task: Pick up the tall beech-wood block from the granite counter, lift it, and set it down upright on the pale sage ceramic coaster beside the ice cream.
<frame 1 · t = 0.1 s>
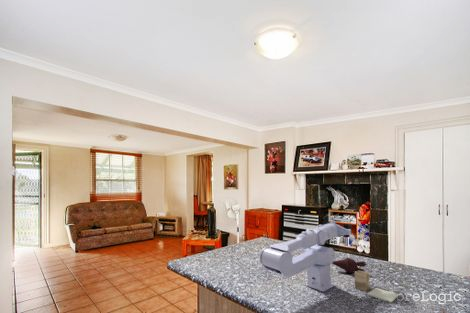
hand: (342, 226, 119), 22 cm above the counter, tool horizontal, fingers open, 7 cm apart
icecream: (348, 272, 120), on the counter
coaster: (383, 295, 96), on the counter
block: (362, 288, 103), on the counter
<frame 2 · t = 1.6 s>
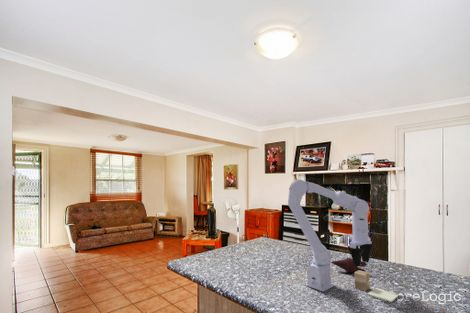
hand: (361, 263, 103), 9 cm above the counter, tool pointing down, fingers open, 7 cm apart
nothing on the counter moved.
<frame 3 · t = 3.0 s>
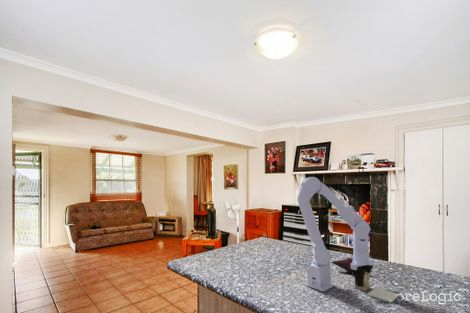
hand: (362, 284, 103), 1 cm above the counter, tool pointing down, fingers closed on block, 4 cm apart
block: (362, 288, 103), on the counter, touching gripper
everything else where it was.
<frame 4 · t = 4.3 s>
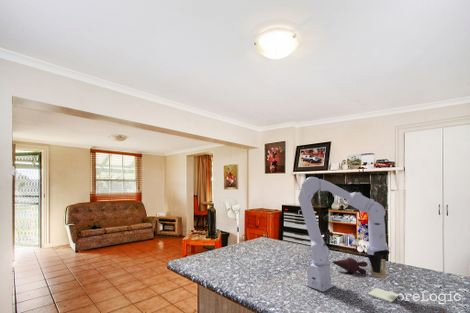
hand: (378, 270, 98), 9 cm above the counter, tool pointing down, fingers closed on block, 4 cm apart
block: (378, 276, 98), point 7 cm above the counter, touching gripper
everything else where it was.
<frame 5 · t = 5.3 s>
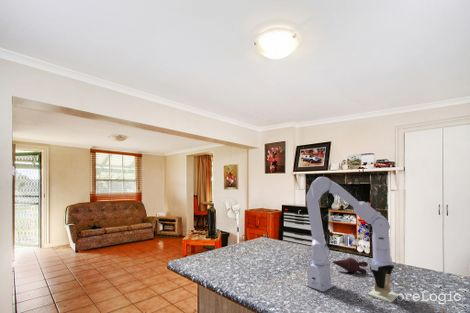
hand: (382, 285, 96), 4 cm above the counter, tool pointing down, fingers closed on block, 4 cm apart
block: (382, 291, 96), point 2 cm above the counter, touching gripper
everything else where it was.
when the fingers open (3 cm above the counter, at t = 5.8 s): block stays where it is, resting on coaster.
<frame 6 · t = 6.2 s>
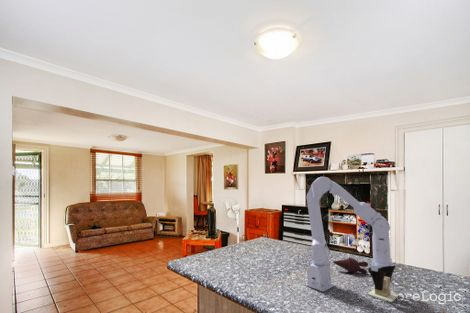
hand: (382, 286, 96), 3 cm above the counter, tool pointing down, fingers open, 7 cm apart
block: (382, 294, 96), point 1 cm above the counter, touching coaster
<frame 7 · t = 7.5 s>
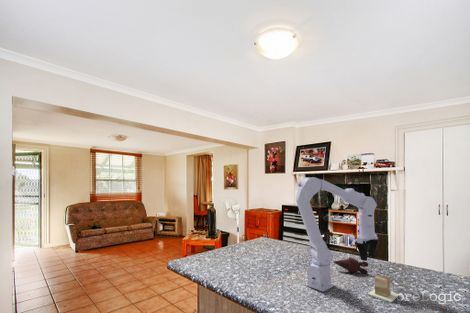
hand: (368, 258, 107), 10 cm above the counter, tool pointing down, fingers open, 7 cm apart
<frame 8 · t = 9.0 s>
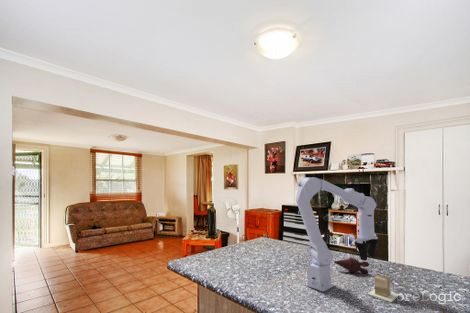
hand: (367, 258, 107), 10 cm above the counter, tool pointing down, fingers open, 7 cm apart
at the end: block inside the target area on the coaster (0.1 cm from its centre), point 0.6 cm above the coaster's base; block tilted 0°; the gripper is holding nothing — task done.
